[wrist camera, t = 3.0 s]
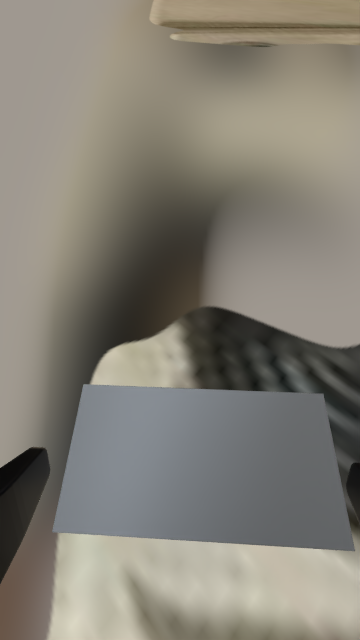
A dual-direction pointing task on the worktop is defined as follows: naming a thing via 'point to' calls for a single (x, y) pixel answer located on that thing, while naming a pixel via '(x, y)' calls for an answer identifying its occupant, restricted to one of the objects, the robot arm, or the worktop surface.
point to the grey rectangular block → (204, 468)
